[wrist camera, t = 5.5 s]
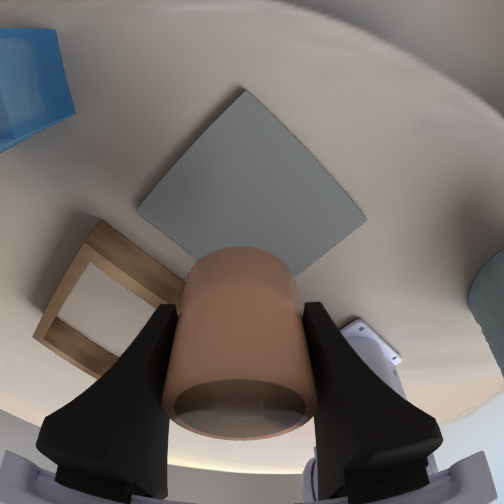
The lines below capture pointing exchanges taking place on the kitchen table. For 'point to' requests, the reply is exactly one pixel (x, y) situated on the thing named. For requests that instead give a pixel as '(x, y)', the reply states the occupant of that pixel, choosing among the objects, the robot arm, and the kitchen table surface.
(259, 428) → the terracotta pot
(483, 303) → the green pot
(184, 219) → the slate mat
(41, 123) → the perfume bottle
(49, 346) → the wooden square frame
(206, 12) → the kitchen table surface
